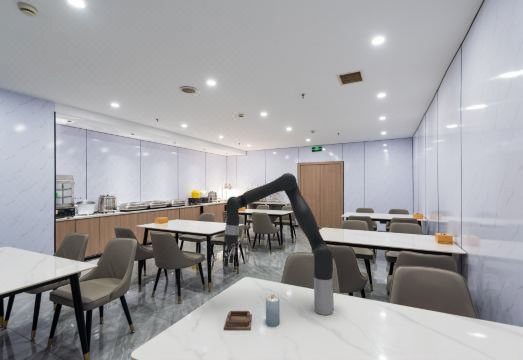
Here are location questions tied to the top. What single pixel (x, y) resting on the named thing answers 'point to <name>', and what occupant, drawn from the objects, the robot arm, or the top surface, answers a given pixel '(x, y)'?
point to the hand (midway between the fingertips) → (228, 264)
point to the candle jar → (272, 311)
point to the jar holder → (238, 320)
